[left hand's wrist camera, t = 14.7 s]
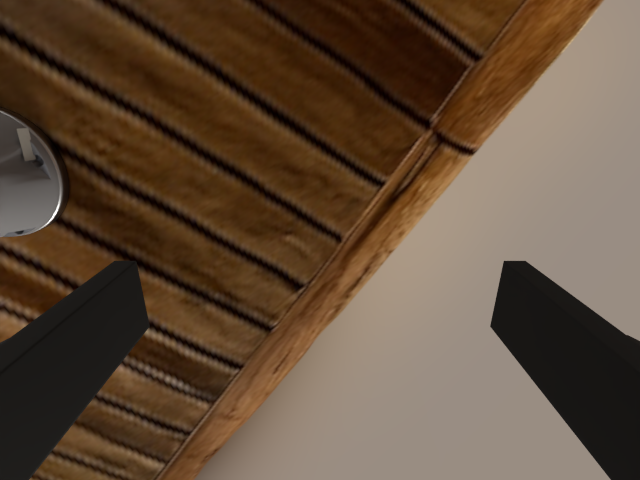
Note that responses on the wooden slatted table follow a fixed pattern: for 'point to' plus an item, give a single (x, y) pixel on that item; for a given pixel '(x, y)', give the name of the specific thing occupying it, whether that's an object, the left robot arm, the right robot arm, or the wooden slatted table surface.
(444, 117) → the wooden slatted table surface
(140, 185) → the wooden slatted table surface
